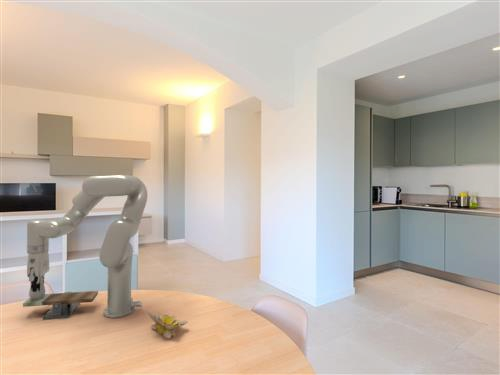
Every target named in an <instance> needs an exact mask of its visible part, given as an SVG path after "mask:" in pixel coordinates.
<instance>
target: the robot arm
mask: <svg viewBox="0 0 500 375" xmlns="http://www.w3.org/2000/svg"><path fill="white" fill-rule="evenodd" d="M105 197H107V198H108V197H127V198H126V201H125V202H124V204H123V207H122V210H121V214H120V215H119V218H118V219H115V220H114V221H113V222H111V223H110V225H109V226H108V228H107V230H106V234H105V237H104V239H103V242H102V245H101V248H100V252H99V257H98V258H99V261H100V263H101V265H102V266H103V267H105V268H107V307H105V308H104V309H103V314H102V315H103V316H104V317H106V318H112V319H113V318H114V319H115V318H116V319H117V318H121V317H126V316H129V315H131V314H132V313H133V312H134V311H135V309H136V308H142V304H143V302H142V301H140V300H134V299H133V297H132V264H133V263H132V262H133V256H134V254H133V253H134V250H133V245H132V243H131V242H130V241H131V239H132V238H133V237H135V235H137V233H138V231H139V227H140V224H141V222H142V221H141V220H142V218H143V214H144V211H145V208H146V205H147V201H148V190H147V186H146V185H145V183H144V182H143V180H141V179H140V178H139V177H137V176H135V175H130V174H119V175H116V174H115V175H91V176H88V177H86V178H85V179H84V180H83V182H82V184H81V190H80V191H79V192H78V193H77V194H76V195H75V196H73V198H72V199H71V200H72V201H71V202H72V207H71V209H69V210H68V211H67V212H66V214H64V215H63V216H62V217H61V218H56V219H52V220H47V219H43V218H42V219H41V218H38V219H36V218H35V219H30V220H29V221H27V224H26V231H27V232H26V253H27V263H26V265H27V266H26V276H27V278H28V282H30V286H31V290H32V291H33V292H36V291H37V288H38V290H39V292H40V283H39V277H41V276H42V278H43V283H44V284H45V274H47V273H48V272H49V271H50V256H49V255H50V254H49V250H50V249H49V246H50V244H49V243H50V239H57V238H60V237H62V236H66V235H68V234H70V233H71V232H73V231H74V230H76V229H77V227H78V226H79V225H81V223H83V222H84V220H85V219H86V217H88V215H89V213H90V211H92V210H93V209H94V208H95V207H96V206H97V205H98V204H99V203H100V202H101V201H102V200H103V199H104V198H105ZM34 275H36V276H34ZM34 278H37V280H36V279H34Z"/></svg>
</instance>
